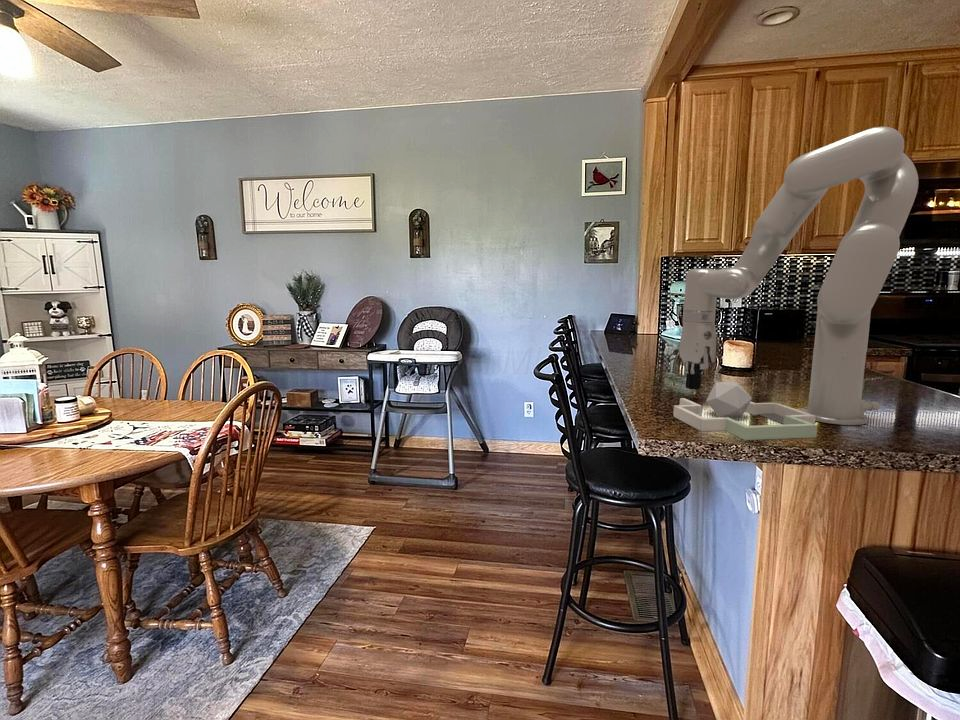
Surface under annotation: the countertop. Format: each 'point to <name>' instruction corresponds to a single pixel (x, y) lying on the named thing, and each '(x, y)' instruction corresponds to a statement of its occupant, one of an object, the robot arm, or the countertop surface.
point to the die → (728, 399)
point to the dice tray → (792, 420)
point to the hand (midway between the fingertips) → (692, 388)
